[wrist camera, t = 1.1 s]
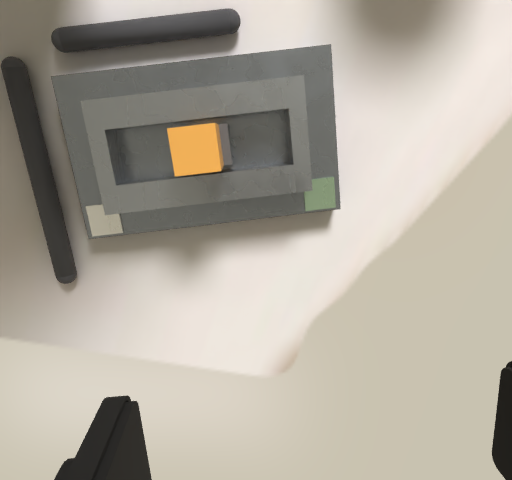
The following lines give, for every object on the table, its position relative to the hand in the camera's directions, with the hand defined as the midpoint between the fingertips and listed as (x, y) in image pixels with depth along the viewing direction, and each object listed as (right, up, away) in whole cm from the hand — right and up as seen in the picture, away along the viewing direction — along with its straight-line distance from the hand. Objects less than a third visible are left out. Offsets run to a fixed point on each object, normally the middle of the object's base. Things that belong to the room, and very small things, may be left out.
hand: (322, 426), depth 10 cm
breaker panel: (-6, +12, +22) cm, 26 cm away
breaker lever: (-6, +12, +20) cm, 23 cm away
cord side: (-10, +20, +19) cm, 30 cm away
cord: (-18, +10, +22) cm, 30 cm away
